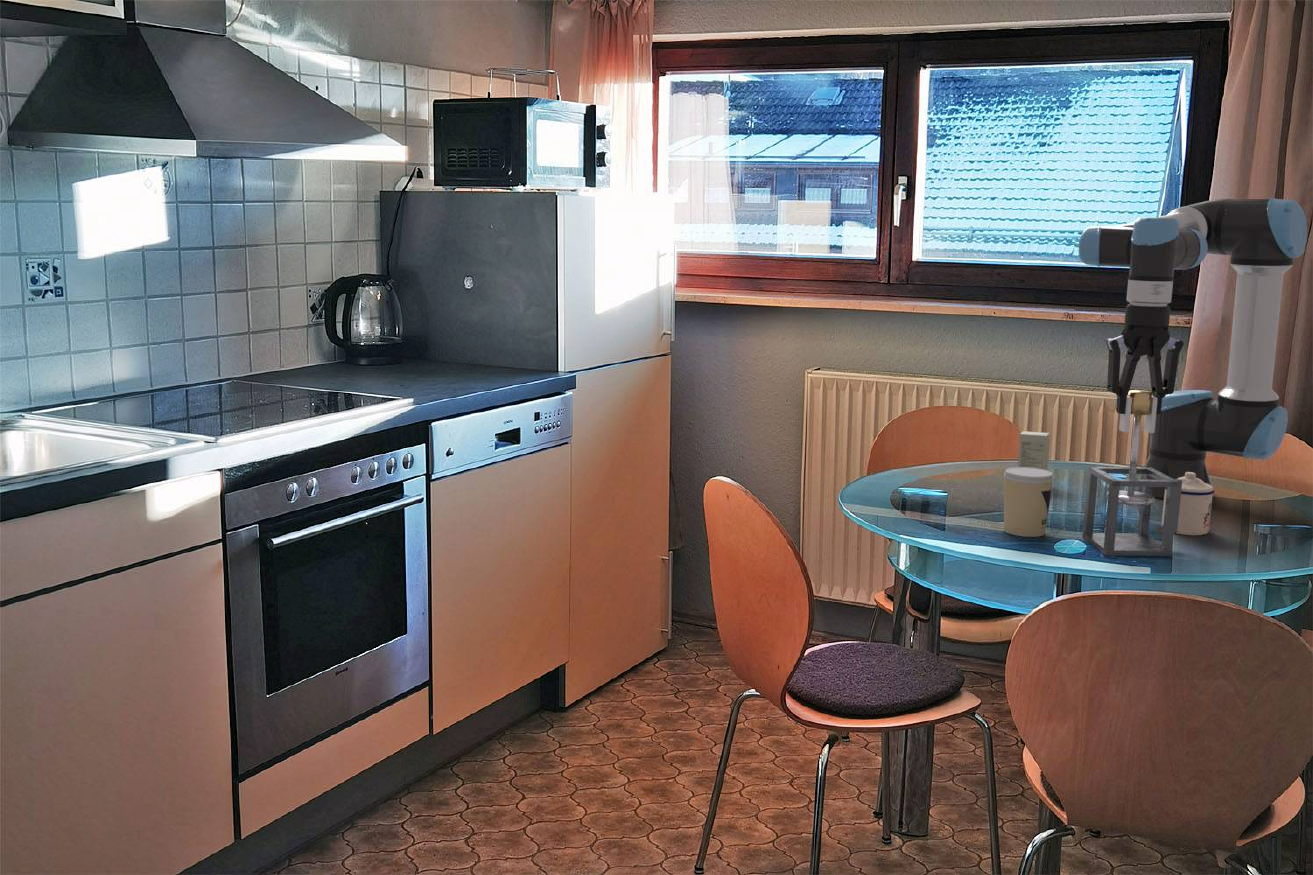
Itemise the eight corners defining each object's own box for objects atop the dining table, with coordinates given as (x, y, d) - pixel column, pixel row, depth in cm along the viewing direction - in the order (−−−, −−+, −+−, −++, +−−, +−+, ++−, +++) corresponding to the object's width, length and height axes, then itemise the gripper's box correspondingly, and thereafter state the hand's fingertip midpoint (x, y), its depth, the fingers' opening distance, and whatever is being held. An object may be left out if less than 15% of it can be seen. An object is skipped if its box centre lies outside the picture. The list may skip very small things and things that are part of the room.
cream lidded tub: (1052, 539, 229) (1057, 478, 226) (1001, 536, 231) (1005, 475, 228) (1046, 527, 238) (1051, 468, 235) (997, 523, 240) (1002, 465, 237)
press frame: (1160, 538, 230) (1167, 467, 228) (1188, 556, 219) (1195, 482, 216) (1082, 537, 230) (1088, 466, 228) (1105, 555, 219) (1112, 480, 216)
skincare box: (1047, 485, 274) (1051, 432, 272) (1044, 488, 270) (1048, 435, 268) (1018, 481, 277) (1022, 430, 274) (1015, 485, 273) (1019, 433, 271)
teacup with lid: (1214, 537, 232) (1221, 479, 229) (1164, 534, 234) (1170, 476, 231) (1200, 522, 243) (1206, 466, 241) (1153, 519, 245) (1158, 463, 243)
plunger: (1143, 494, 227) (1153, 388, 223) (1162, 505, 219) (1172, 395, 215) (1099, 494, 227) (1108, 387, 223) (1116, 505, 219) (1126, 394, 215)
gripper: (1109, 305, 212) (1097, 434, 216) (1204, 306, 212) (1191, 436, 217) (1093, 301, 219) (1083, 427, 224) (1186, 303, 220) (1173, 428, 224)
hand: (1136, 431), depth 220 cm, fingers closed on plunger, 4 cm apart
